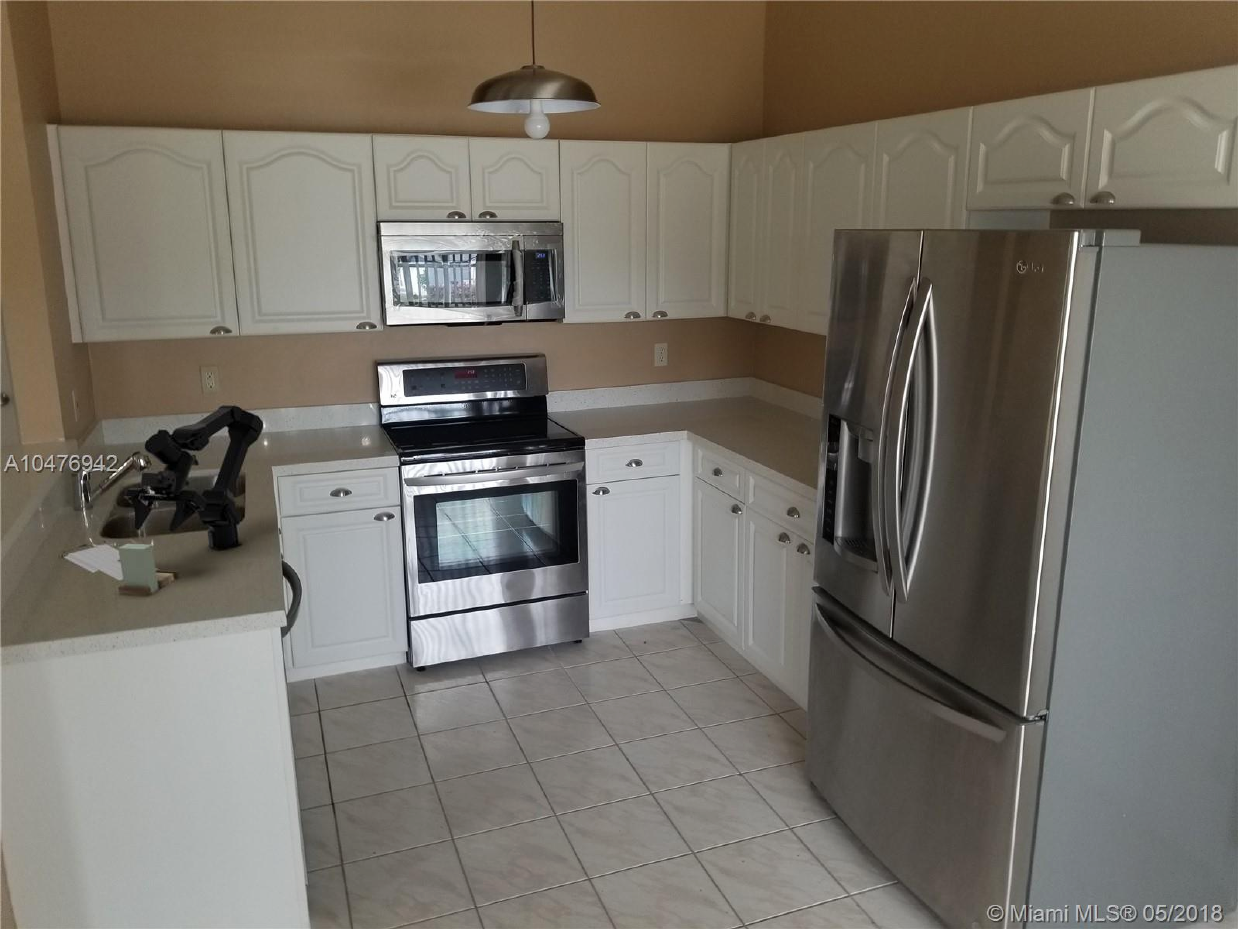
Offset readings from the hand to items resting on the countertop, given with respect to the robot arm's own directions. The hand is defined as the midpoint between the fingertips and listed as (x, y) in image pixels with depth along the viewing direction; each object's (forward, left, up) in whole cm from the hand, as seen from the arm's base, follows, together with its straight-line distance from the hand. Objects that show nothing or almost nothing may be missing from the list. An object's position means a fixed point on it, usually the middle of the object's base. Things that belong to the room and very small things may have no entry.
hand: (153, 530), depth 221 cm
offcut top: (+2, +2, -11) cm, 12 cm away
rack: (+4, +3, -13) cm, 14 cm away
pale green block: (+6, +5, -12) cm, 14 cm away
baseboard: (+5, -22, -14) cm, 26 cm away
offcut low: (+2, +2, -12) cm, 12 cm away
